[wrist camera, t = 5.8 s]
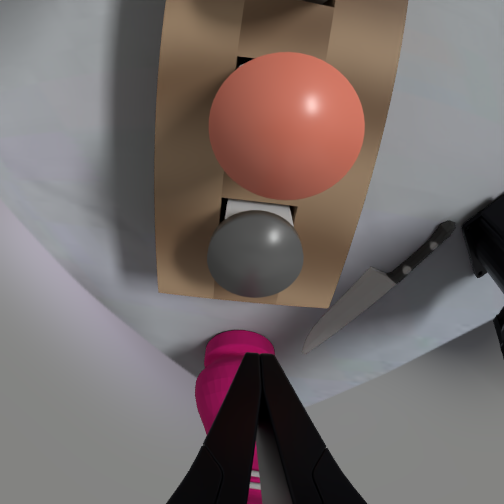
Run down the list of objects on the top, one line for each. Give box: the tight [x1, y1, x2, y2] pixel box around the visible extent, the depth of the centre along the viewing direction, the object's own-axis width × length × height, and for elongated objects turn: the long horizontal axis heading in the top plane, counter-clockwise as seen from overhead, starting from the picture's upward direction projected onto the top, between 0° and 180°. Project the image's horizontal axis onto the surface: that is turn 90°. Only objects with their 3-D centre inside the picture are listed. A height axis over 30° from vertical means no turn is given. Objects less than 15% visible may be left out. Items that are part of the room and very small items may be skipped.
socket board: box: [154, 0, 408, 308], centre depth 15 cm, size 22×10×5 cm, turn 173°
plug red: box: [209, 52, 365, 200], centre depth 11 cm, size 4×4×7 cm
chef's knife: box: [302, 221, 456, 354], centre depth 25 cm, size 19×1×3 cm
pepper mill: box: [195, 330, 275, 504], centre depth 21 cm, size 7×7×20 cm
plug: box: [207, 198, 304, 298], centre depth 17 cm, size 4×4×7 cm
